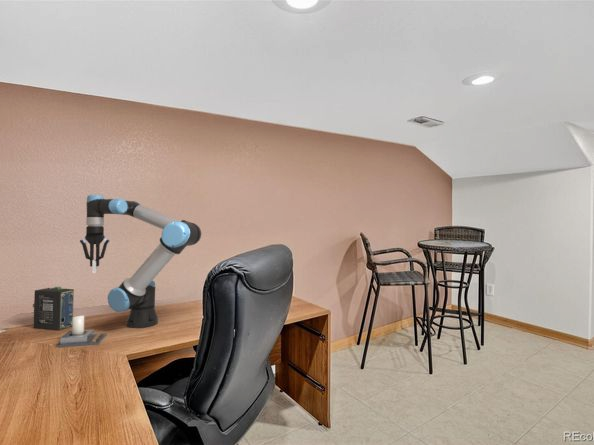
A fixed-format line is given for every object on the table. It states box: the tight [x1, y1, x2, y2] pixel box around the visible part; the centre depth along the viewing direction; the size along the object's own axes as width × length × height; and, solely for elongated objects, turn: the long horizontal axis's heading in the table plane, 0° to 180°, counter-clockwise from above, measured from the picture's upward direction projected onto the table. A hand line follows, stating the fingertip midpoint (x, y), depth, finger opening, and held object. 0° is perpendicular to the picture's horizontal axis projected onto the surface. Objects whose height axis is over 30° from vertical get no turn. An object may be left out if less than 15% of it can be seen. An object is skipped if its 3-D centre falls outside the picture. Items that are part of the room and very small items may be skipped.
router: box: [32, 286, 75, 331], centre depth 170 cm, size 8×18×20 cm, turn 78°
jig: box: [55, 329, 108, 348], centre depth 150 cm, size 16×13×4 cm
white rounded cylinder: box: [71, 314, 85, 336], centre depth 150 cm, size 4×4×10 cm
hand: (94, 272), depth 169 cm, fingers closed
